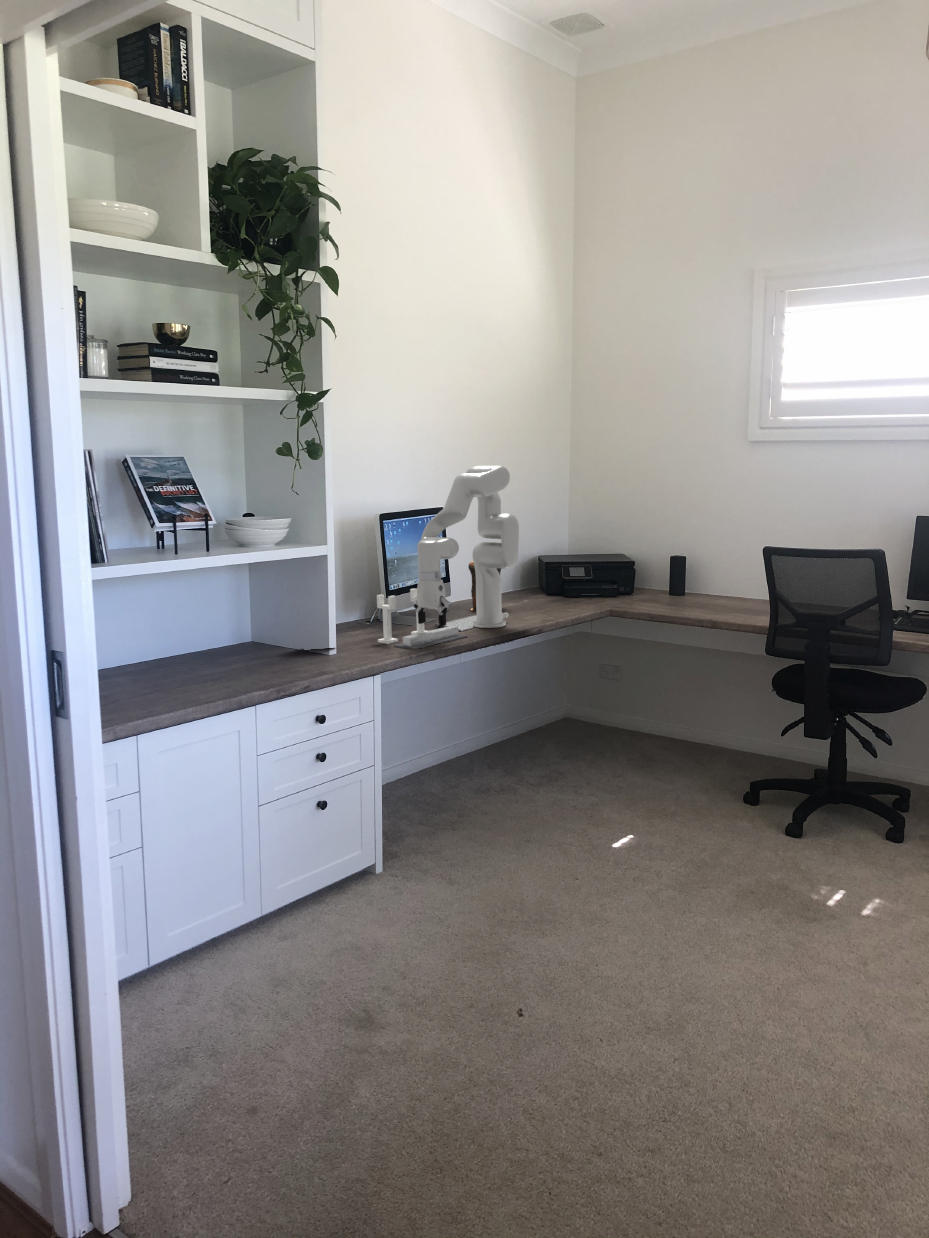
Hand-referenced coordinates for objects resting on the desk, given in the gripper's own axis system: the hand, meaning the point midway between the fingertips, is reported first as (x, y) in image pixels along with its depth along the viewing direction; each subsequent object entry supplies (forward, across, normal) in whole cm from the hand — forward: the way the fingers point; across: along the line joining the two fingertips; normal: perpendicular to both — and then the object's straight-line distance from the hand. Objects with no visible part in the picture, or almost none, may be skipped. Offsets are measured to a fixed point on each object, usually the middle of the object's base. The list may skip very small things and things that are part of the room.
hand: (432, 624), depth 332 cm
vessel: (+8, +28, -64) cm, 70 cm away
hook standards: (+6, +13, +1) cm, 14 cm away
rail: (+5, 0, +1) cm, 5 cm away
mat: (+6, 0, +1) cm, 6 cm away
